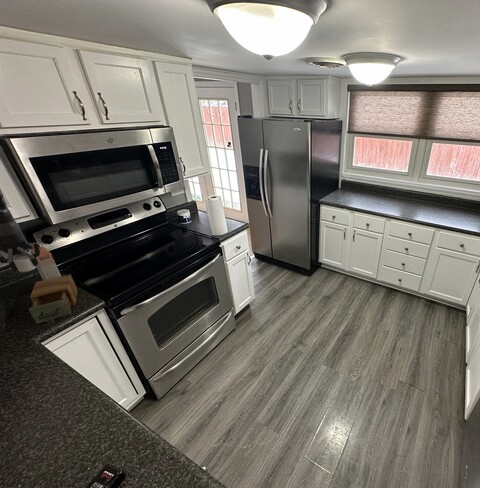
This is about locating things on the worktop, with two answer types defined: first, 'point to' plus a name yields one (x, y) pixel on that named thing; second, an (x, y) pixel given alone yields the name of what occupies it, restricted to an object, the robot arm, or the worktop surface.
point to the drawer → (51, 306)
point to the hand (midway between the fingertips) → (26, 267)
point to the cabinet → (55, 287)
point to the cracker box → (46, 264)
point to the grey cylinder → (24, 263)
